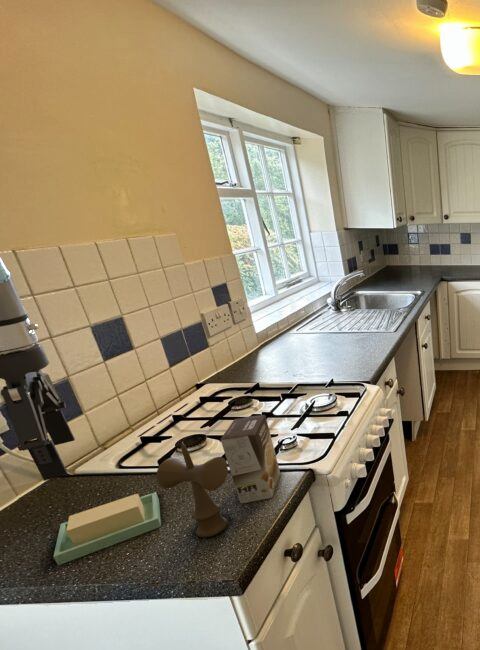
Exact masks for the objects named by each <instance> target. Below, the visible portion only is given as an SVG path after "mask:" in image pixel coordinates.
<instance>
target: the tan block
mask: <svg viewBox="0 0 480 650" xmlns="http://www.w3.org/2000/svg"><path fill="white" fill-rule="evenodd" d="M140 497H141V496H140V495H139V493H135V494H131V495H129V496H126V497H122V498H120V499H117V500H114V501H111V502H108V503H105V504H102V505H101V504H100V505H99V506H95V507H93V508H89V509H86V510H83V511H81V512H77V513H74V514H72V515H69V516H68V521H67V522H68V525H67V530H66V532H67V533H68V535H69V537H70V539H71V541H72V543H73V544H74V546H75V547H76V546H79V545H81V544H84V543H87V542H90V541H92V540H95V539H98V538H100V537H103V536H106V535H109V534H111V533H114V532H117V531H120V530H122V529H125V528H128V527H131V526H133V525H136V524H139V523H142V522H144V521H145V509H144V506H143V504H142V502H141V499H140Z"/></svg>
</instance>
